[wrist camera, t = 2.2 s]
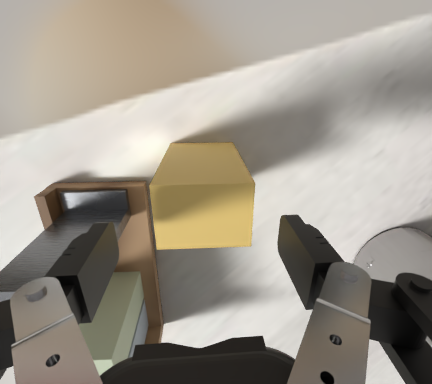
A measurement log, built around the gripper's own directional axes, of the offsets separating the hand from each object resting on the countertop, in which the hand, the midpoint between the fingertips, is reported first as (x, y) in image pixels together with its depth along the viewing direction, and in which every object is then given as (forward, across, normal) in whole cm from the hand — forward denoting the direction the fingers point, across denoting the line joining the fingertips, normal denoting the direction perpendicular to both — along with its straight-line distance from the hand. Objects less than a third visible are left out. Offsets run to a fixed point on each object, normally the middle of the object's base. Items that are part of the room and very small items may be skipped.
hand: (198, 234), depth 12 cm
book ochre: (+12, 0, 0) cm, 12 cm away
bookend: (+11, +9, +4) cm, 15 cm away
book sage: (+11, +9, +13) cm, 19 cm away
